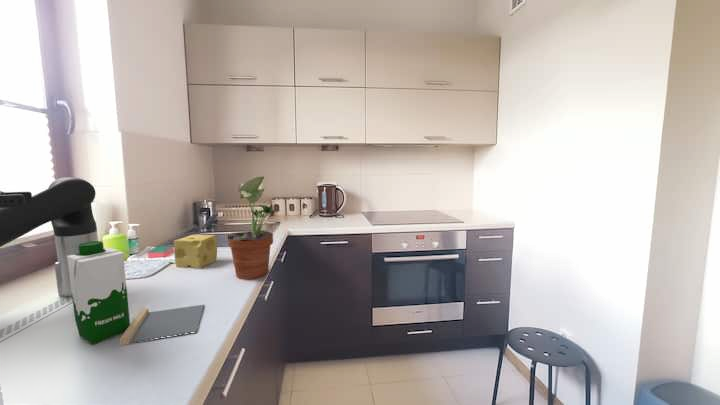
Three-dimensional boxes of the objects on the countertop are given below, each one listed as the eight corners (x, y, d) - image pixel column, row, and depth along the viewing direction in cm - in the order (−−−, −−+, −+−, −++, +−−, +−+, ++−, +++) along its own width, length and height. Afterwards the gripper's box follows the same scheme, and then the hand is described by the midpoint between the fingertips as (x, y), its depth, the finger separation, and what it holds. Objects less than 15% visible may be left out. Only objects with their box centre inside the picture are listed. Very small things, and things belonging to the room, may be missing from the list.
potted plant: (286, 271, 109) (282, 168, 105) (249, 285, 97) (243, 169, 92) (256, 263, 118) (251, 168, 113) (219, 275, 105) (211, 169, 101)
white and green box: (119, 319, 76) (110, 237, 74) (137, 329, 72) (128, 242, 69) (72, 336, 69) (60, 246, 66) (88, 349, 64) (76, 252, 62)
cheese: (200, 269, 112) (197, 241, 111) (173, 267, 114) (171, 240, 113) (218, 260, 122) (216, 234, 121) (194, 258, 124) (192, 233, 123)
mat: (120, 345, 65) (119, 338, 65) (141, 314, 78) (141, 309, 78) (196, 332, 70) (195, 326, 70) (204, 306, 83) (203, 300, 83)
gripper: (-91, 221, 58) (35, 213, 68) (-135, 234, 47) (24, 222, 57) (-98, 179, 57) (32, 178, 67) (-144, 183, 46) (19, 180, 56)
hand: (28, 198), depth 62 cm, fingers open, 8 cm apart
